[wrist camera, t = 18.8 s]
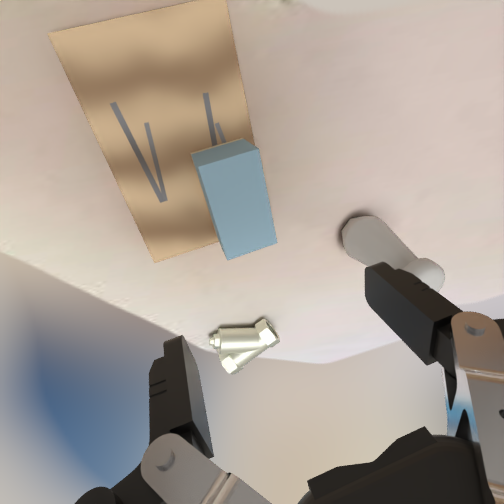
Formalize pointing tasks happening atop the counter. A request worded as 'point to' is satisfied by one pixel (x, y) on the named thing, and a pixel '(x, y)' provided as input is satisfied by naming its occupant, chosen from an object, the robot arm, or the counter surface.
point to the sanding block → (236, 196)
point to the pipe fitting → (243, 344)
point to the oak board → (160, 110)
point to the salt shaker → (387, 250)
